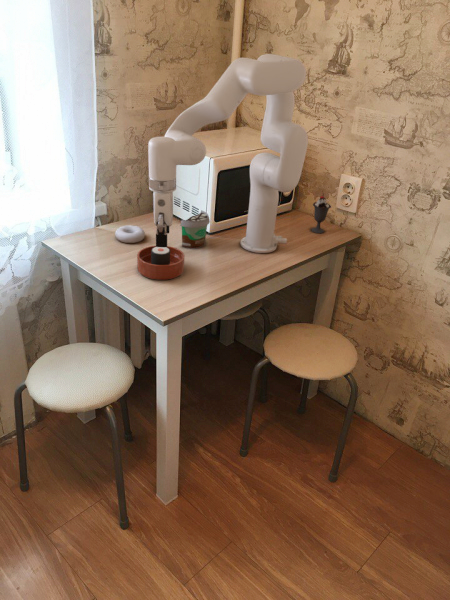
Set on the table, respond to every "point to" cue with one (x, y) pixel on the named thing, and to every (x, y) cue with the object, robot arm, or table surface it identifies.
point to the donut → (130, 234)
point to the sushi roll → (160, 256)
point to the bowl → (160, 270)
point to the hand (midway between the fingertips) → (162, 239)
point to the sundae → (320, 213)
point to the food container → (194, 230)
